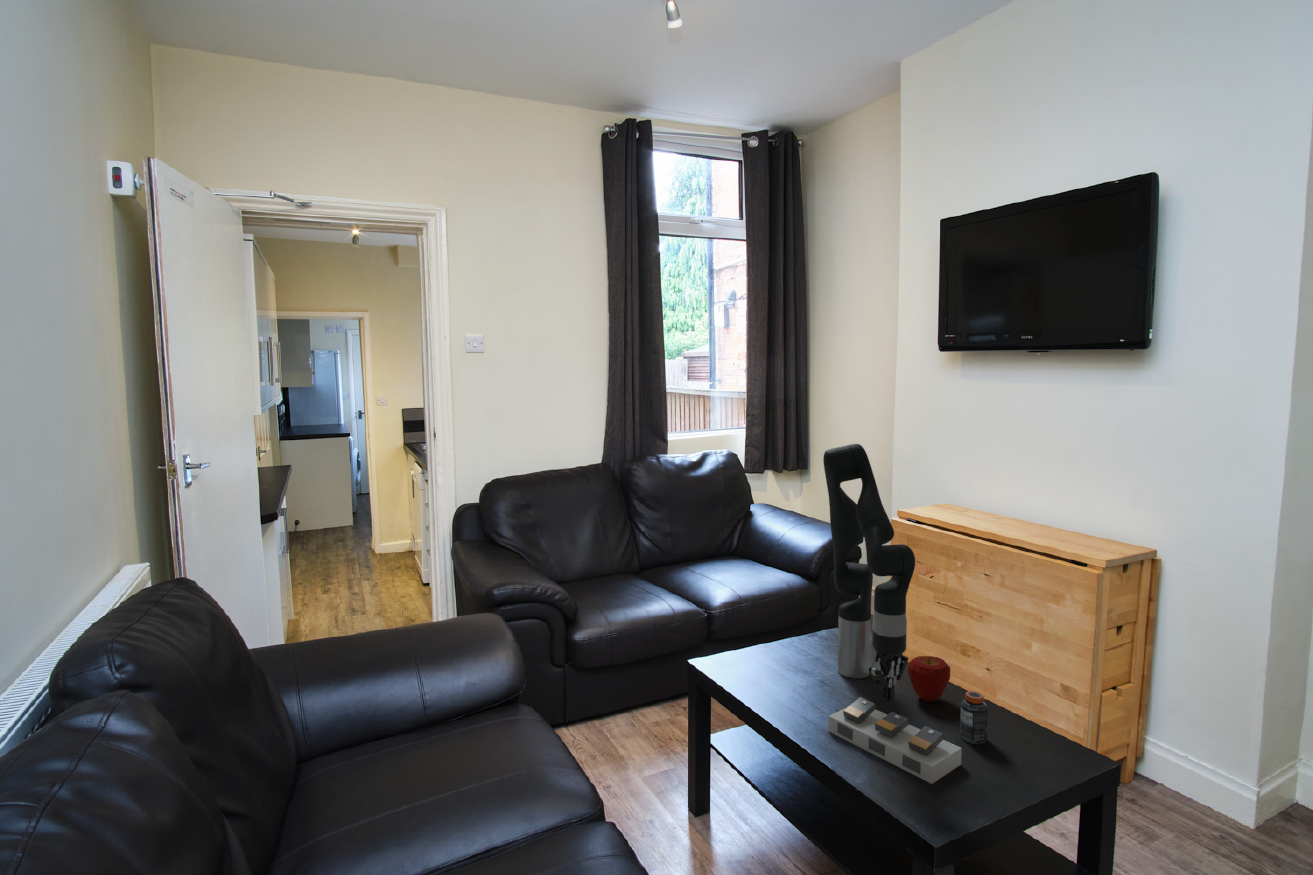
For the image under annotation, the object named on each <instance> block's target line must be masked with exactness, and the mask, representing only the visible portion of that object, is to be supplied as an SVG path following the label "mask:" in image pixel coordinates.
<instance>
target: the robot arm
mask: <svg viewBox="0 0 1313 875" xmlns="http://www.w3.org/2000/svg"><path fill="white" fill-rule="evenodd" d="M868 456H869V455H868V454H867V451H866V450H865V448H864V447H863V446H862V445H861V444H859V443H851V444H847V445H843V446H837V447H833V448H829V449H827V450H825V451H824V454H823V459H822V460H823V461H822V462H823V469H824V475H825V481H826V488H827V492H828V505H829V523H830V524H829V525H830V532H831V534H830V535H831V539H832V541H831V542H832V547H833V548H832V549H833V582H834V587H835V589H836V591H837V593H841V594H845V595H853V596H859V597H858V598H857V599H855V600H852V601H848V602H847V601H846V602H844V603H841V604H840V605H839V607H838V634H837V635H838V637H837V640H838V642H837V643H838V644H837V647H838V648H837V654H838V655H837V672H838V673H839V674H840V675H842V676H843V677H846V678H850V679H864V678H868V677H870V676H871V677H872V680H874V683H875V684H876V685H879V686H881V698H882V699H883V701H885V702H888V703H891V702H893V701H894V700H895V686H896V685H897V681H898V682H899V681H900V680H901V678H902V676H903V674H904V671H905V668H906V667H907V665H908V664H907V663H908V661H909V657H908V656H907V655H903V653H904V652H905V651H906V650H907V631H908V630H907V629H908V628H907V626H908V625H907V624H908V622H907V619H908V618H907V594H908V591H909V587H910V584H911V581H912V578H913V576H914V572H915V568H916V557H915V553H914V551H913V549H912V548H911V547H910V546H908V545H906V544H902V543H901V544H888V543H889V542H891V541H892V539H894V536H895V530H894V528H893V525H892V523H891V521H890V518H889V517H888V514H887V512H886V510H885V507H884V504H883V502H882V500H881V497H880V492H879V489H878V485H877V482H876V478H875V475H874V472H873V469H872V466H871V463H870V459H869V457H868ZM858 479H859V480H861V485H862V486H861V489H860V490H861V491H860V494H859V496H858V500H857V503H856V502H855V501H854V500H853V499H852V498H851V497H850V496H849V495H848V494H846V492H845V491H844V489H843V488H842V487H841V484H842V483H843V482H849V481H854V480H858ZM863 539H864V545H865V550H866V552H865V553H866V554H865V555H866V563H858V562H848V561H847V560H848V558H849V556H850V555H851V554H852V553H853V552H854V550H856V548H857V547H858V546H859V545H860V544H861V543H862V541H863ZM873 575H874V576H875V577H890V579H889V580H888V581H885V582H882V583H879V584H878V585H876V586H875V588H874V592H873V582H874V581H873V580H874V576H873ZM872 593H874V594H873V595H874V598H873V614H872ZM871 630H872V631H871ZM871 636H872V639H871ZM873 649H874V650H875V652H876V653H875V654H876V655H875V658H874V661H875V663H874V665H873V666H872V663H873V662H872V660H873V658H872V657H873Z"/></svg>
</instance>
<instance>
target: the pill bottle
mask: <svg viewBox="0 0 1313 875" xmlns="http://www.w3.org/2000/svg"><path fill="white" fill-rule="evenodd" d="M984 699H985V698H984V695H983V694H982V693H981V692H978V691H974V690H970V691H966V692H965V699H963V700H962V701H961V703H960V726H959V728H960V729H959V730H960V731H959V732H960V733H959V736H960V738H961V739H962V740H963V741H965V742H967V743H970V744H973V745H982V744H985V743H986V742H988V713H989V712H988V710H989V709H988V706H987V704H986V703H985V702H984V701H985V700H984Z"/></svg>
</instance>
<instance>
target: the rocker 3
mask: <svg viewBox="0 0 1313 875" xmlns="http://www.w3.org/2000/svg"><path fill="white" fill-rule="evenodd" d="M943 740H944V733H942V732H940V731H939V730H936V729H934V728H931V727H929V726H927V725H924V726H923V727H922V728H921V729H920V731H919V732H918V733H917V734H916V735H915V736H914V737H913V738H912V739H910V740H909V742H908V744H909V748H910V749H912V750H914V751H917V752H919V753H921V754H923V755H925V756H928V755H929V754H930V753H931V752H932V751H933V750H934V749H935V748H936V747H937V746H938V745H939V744H940V743H941V742H942V741H943Z"/></svg>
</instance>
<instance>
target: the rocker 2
mask: <svg viewBox="0 0 1313 875" xmlns="http://www.w3.org/2000/svg"><path fill="white" fill-rule="evenodd" d="M908 725H910V724H909V718H907V717H905V716H903V715H901V714H897V713H896V712H893V711H890V713H887V716H885V717H884V718H882V719H880V720H879V721H878V722H876V723H875V730H876V731H878V732H881V733H883V734H885V735H887V736H889V737H891V738H892V737H893V736H894V735H896V734H897V733H898V732H900V731H901V730H902V729H904V728H905V727H907V726H908Z"/></svg>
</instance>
